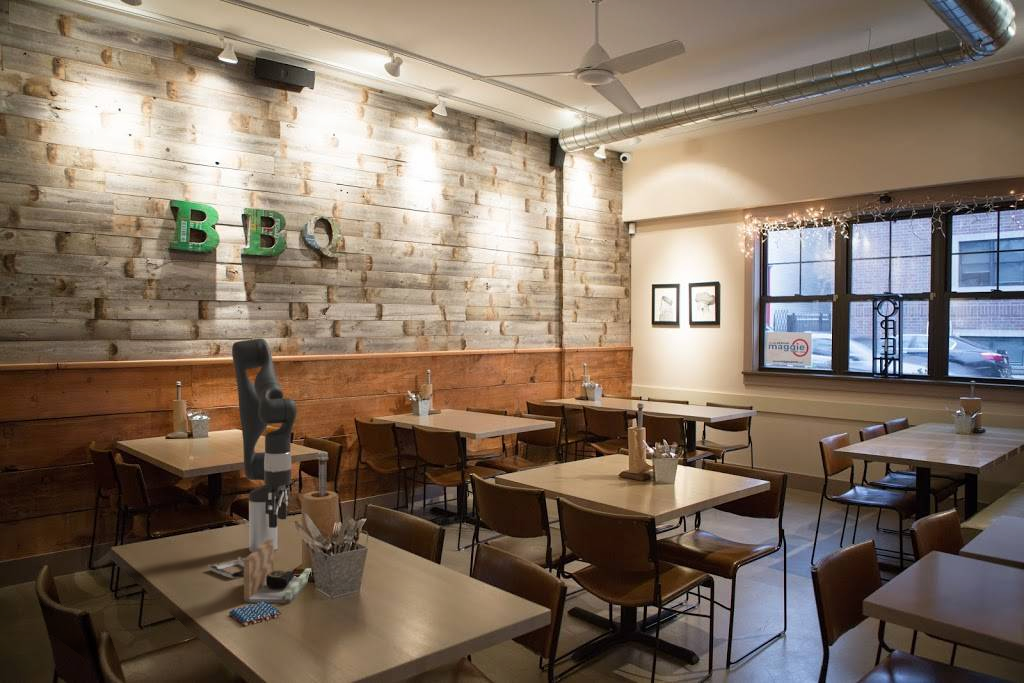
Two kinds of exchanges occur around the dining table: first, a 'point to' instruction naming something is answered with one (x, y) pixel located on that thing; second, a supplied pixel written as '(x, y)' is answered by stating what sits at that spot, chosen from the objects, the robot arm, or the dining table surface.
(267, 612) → the woven mat
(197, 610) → the dining table surface
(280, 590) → the cleat board
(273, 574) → the tape measure
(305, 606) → the dining table surface
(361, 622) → the dining table surface
